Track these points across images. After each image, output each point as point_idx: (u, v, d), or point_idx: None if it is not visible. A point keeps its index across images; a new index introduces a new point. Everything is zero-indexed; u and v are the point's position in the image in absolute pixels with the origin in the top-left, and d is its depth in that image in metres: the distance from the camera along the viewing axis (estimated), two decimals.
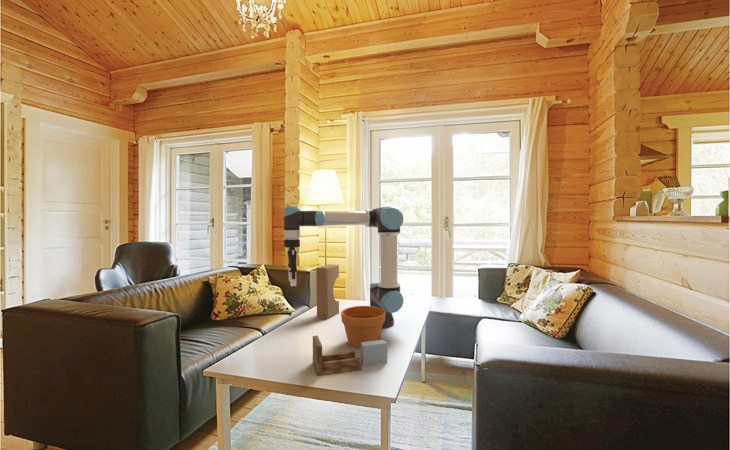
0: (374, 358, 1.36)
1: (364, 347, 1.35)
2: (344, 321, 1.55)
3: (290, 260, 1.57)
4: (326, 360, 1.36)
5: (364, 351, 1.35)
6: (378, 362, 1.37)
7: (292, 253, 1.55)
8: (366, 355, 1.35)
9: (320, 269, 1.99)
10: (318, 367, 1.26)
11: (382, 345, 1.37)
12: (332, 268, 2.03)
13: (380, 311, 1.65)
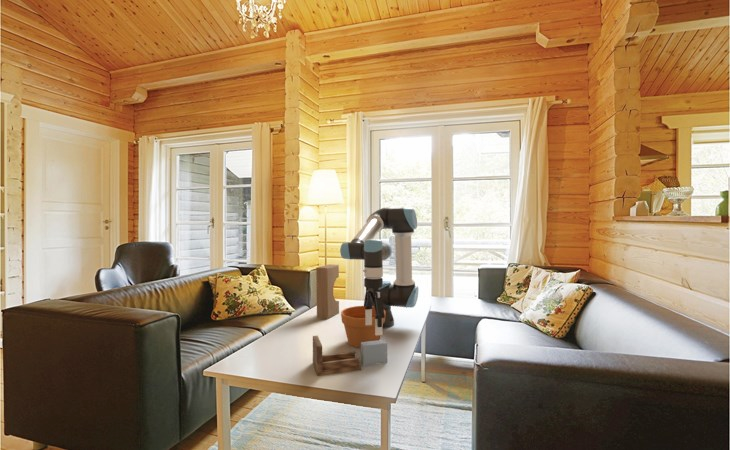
0: (374, 358, 1.36)
1: (364, 347, 1.35)
2: (344, 321, 1.55)
3: (374, 304, 1.33)
4: (326, 360, 1.36)
5: (364, 351, 1.35)
6: (378, 362, 1.37)
7: (378, 296, 1.31)
8: (366, 355, 1.35)
9: (320, 269, 1.99)
10: (318, 367, 1.26)
11: (382, 345, 1.37)
12: (332, 268, 2.03)
13: None
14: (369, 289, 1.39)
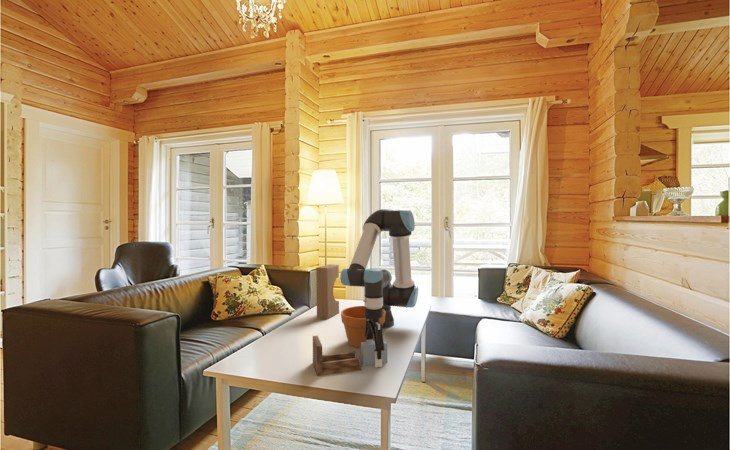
0: (374, 358, 1.36)
1: (364, 347, 1.35)
2: (344, 321, 1.55)
3: (374, 335, 1.34)
4: (326, 360, 1.36)
5: (364, 351, 1.35)
6: None
7: (378, 328, 1.32)
8: (366, 355, 1.35)
9: (320, 269, 1.99)
10: (318, 367, 1.26)
11: None
12: (332, 268, 2.03)
13: None
14: None
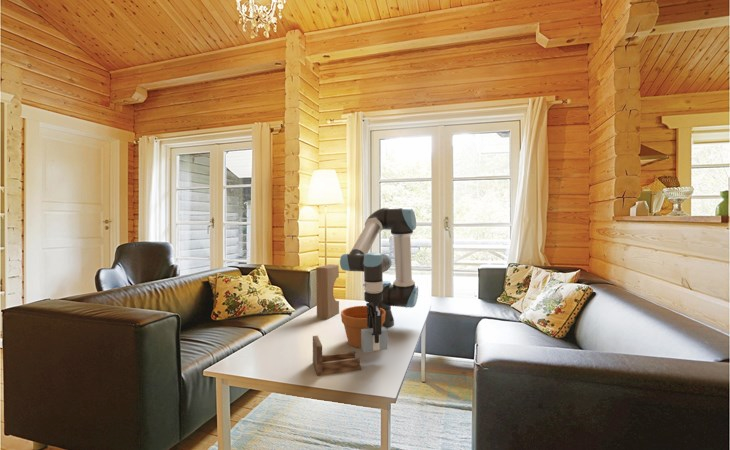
0: None
1: (364, 334, 1.35)
2: (344, 321, 1.55)
3: (373, 320, 1.35)
4: (326, 360, 1.36)
5: (364, 338, 1.35)
6: None
7: (378, 315, 1.32)
8: (367, 342, 1.36)
9: (320, 269, 1.99)
10: (318, 367, 1.26)
11: (383, 332, 1.38)
12: (332, 268, 2.03)
13: None
14: None
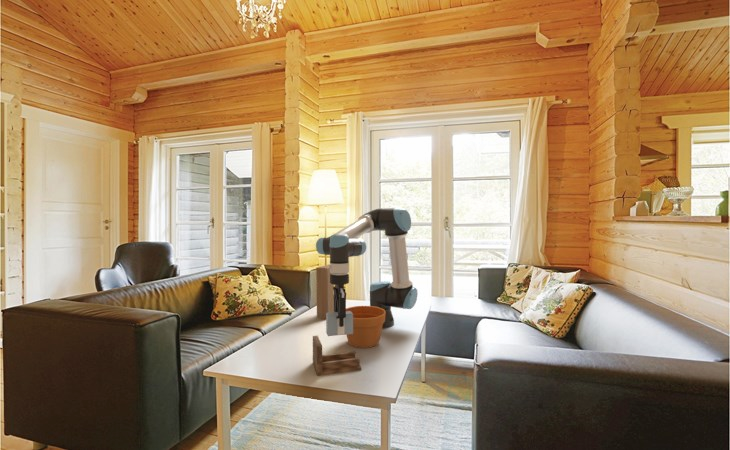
0: None
1: (329, 317, 1.31)
2: None
3: (338, 303, 1.31)
4: (326, 360, 1.36)
5: (329, 321, 1.31)
6: None
7: (342, 297, 1.28)
8: (331, 325, 1.32)
9: (320, 269, 1.99)
10: (318, 367, 1.26)
11: (348, 316, 1.34)
12: None
13: (380, 311, 1.65)
14: (335, 284, 1.36)
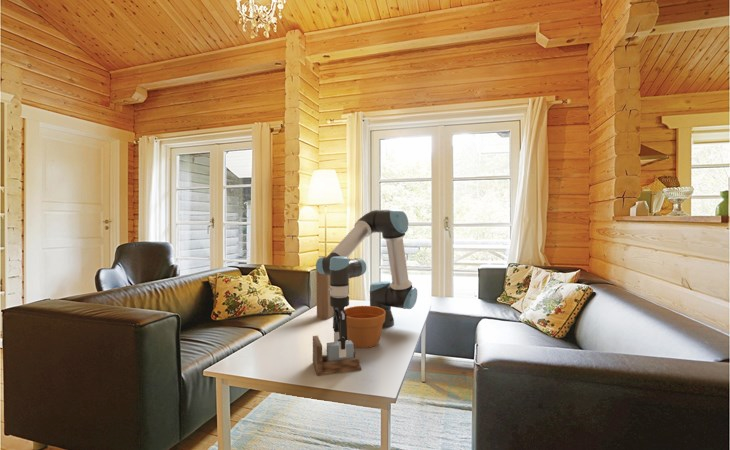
0: (340, 359, 1.33)
1: (329, 348, 1.32)
2: None
3: (339, 325, 1.31)
4: (326, 360, 1.36)
5: (329, 352, 1.32)
6: None
7: (342, 318, 1.28)
8: (332, 356, 1.32)
9: None
10: (318, 367, 1.26)
11: (348, 346, 1.34)
12: None
13: (380, 311, 1.65)
14: (335, 307, 1.36)
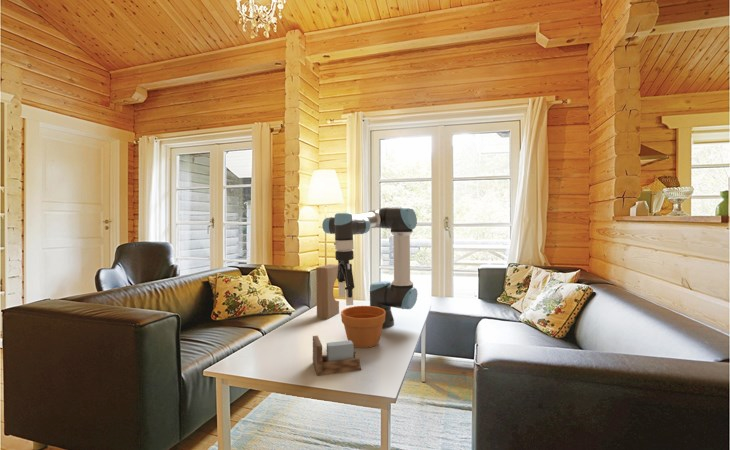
0: (340, 359, 1.33)
1: (329, 348, 1.32)
2: (344, 321, 1.55)
3: (345, 275, 1.36)
4: (326, 360, 1.36)
5: (329, 352, 1.32)
6: None
7: (348, 267, 1.34)
8: (332, 356, 1.32)
9: (320, 269, 1.99)
10: (318, 367, 1.26)
11: (348, 346, 1.34)
12: (332, 268, 2.03)
13: (380, 311, 1.65)
14: (341, 262, 1.42)
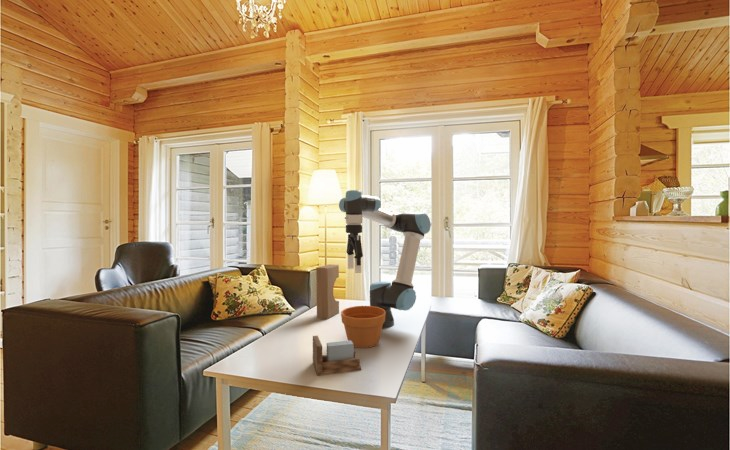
0: (340, 359, 1.33)
1: (329, 348, 1.32)
2: (344, 321, 1.55)
3: (354, 246, 1.51)
4: (326, 360, 1.36)
5: (329, 352, 1.32)
6: None
7: (357, 238, 1.49)
8: (332, 356, 1.32)
9: (320, 269, 1.99)
10: (318, 367, 1.26)
11: (348, 346, 1.34)
12: (332, 268, 2.03)
13: (380, 311, 1.65)
14: (350, 235, 1.57)
